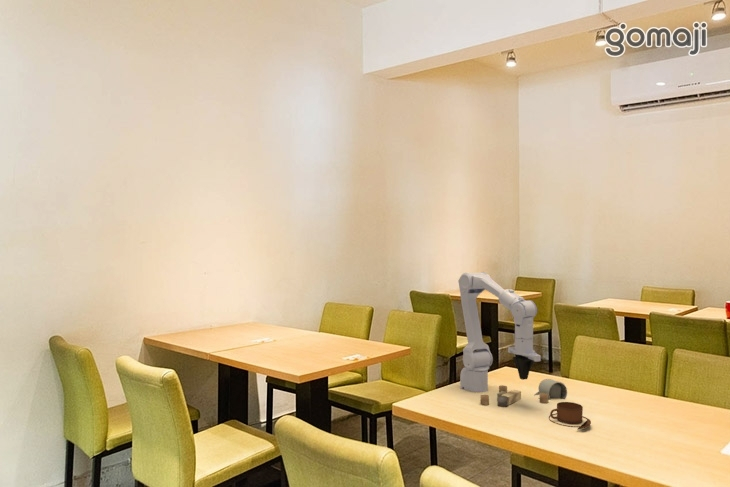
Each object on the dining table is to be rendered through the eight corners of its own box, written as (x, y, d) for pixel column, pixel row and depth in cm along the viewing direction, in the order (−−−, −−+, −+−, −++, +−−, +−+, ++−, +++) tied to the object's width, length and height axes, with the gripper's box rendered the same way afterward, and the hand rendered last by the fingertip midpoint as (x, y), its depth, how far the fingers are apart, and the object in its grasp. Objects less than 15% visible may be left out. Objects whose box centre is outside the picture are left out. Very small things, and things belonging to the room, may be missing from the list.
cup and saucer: (571, 435, 156) (571, 414, 156) (540, 422, 167) (540, 402, 167) (599, 428, 162) (599, 408, 162) (567, 416, 172) (568, 397, 172)
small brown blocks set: (477, 408, 180) (477, 396, 180) (500, 396, 194) (500, 384, 194) (530, 420, 168) (530, 406, 168) (550, 406, 183) (550, 393, 183)
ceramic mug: (554, 396, 194) (554, 375, 194) (567, 402, 187) (567, 381, 186) (529, 398, 192) (528, 378, 192) (541, 405, 184) (541, 383, 184)
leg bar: (504, 407, 176) (504, 399, 176) (495, 405, 178) (495, 397, 178) (521, 398, 186) (521, 390, 186) (512, 397, 188) (512, 389, 188)
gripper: (548, 340, 172) (548, 383, 173) (520, 333, 186) (520, 372, 186) (530, 342, 170) (530, 385, 170) (502, 334, 184) (502, 374, 184)
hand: (523, 378), depth 178 cm, fingers closed
